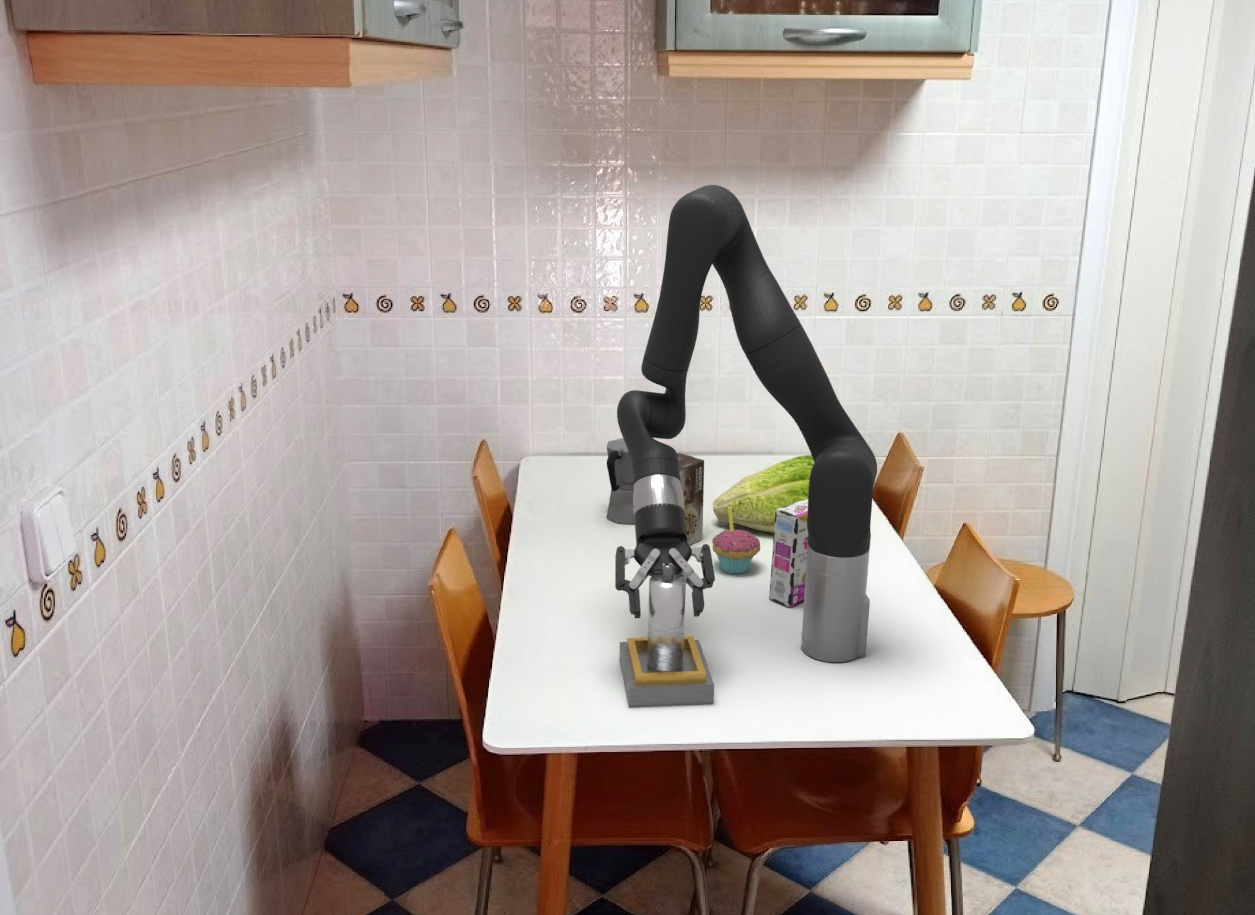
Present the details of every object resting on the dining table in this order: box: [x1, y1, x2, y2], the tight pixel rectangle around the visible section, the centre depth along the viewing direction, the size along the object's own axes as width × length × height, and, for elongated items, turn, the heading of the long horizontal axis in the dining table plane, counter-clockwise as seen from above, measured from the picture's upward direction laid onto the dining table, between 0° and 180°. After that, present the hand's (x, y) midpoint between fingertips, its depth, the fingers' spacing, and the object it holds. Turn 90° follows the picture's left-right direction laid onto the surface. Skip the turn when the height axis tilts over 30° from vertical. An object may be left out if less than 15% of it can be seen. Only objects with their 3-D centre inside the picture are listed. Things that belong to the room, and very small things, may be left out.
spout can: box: [647, 563, 687, 671], centre depth 173 cm, size 5×5×15 cm
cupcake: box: [711, 503, 761, 575], centre depth 214 cm, size 9×8×12 cm
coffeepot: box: [606, 437, 635, 526], centre depth 236 cm, size 15×9×18 cm, turn 153°
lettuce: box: [712, 454, 814, 534], centre depth 234 cm, size 15×24×16 cm
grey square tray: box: [618, 635, 715, 708], centre depth 175 cm, size 12×14×4 cm
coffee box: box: [676, 452, 705, 546], centre depth 224 cm, size 9×6×16 cm
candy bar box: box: [768, 498, 808, 608], centre depth 203 cm, size 11×5×16 cm, turn 134°
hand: (667, 615), depth 171 cm, fingers open, 8 cm apart
